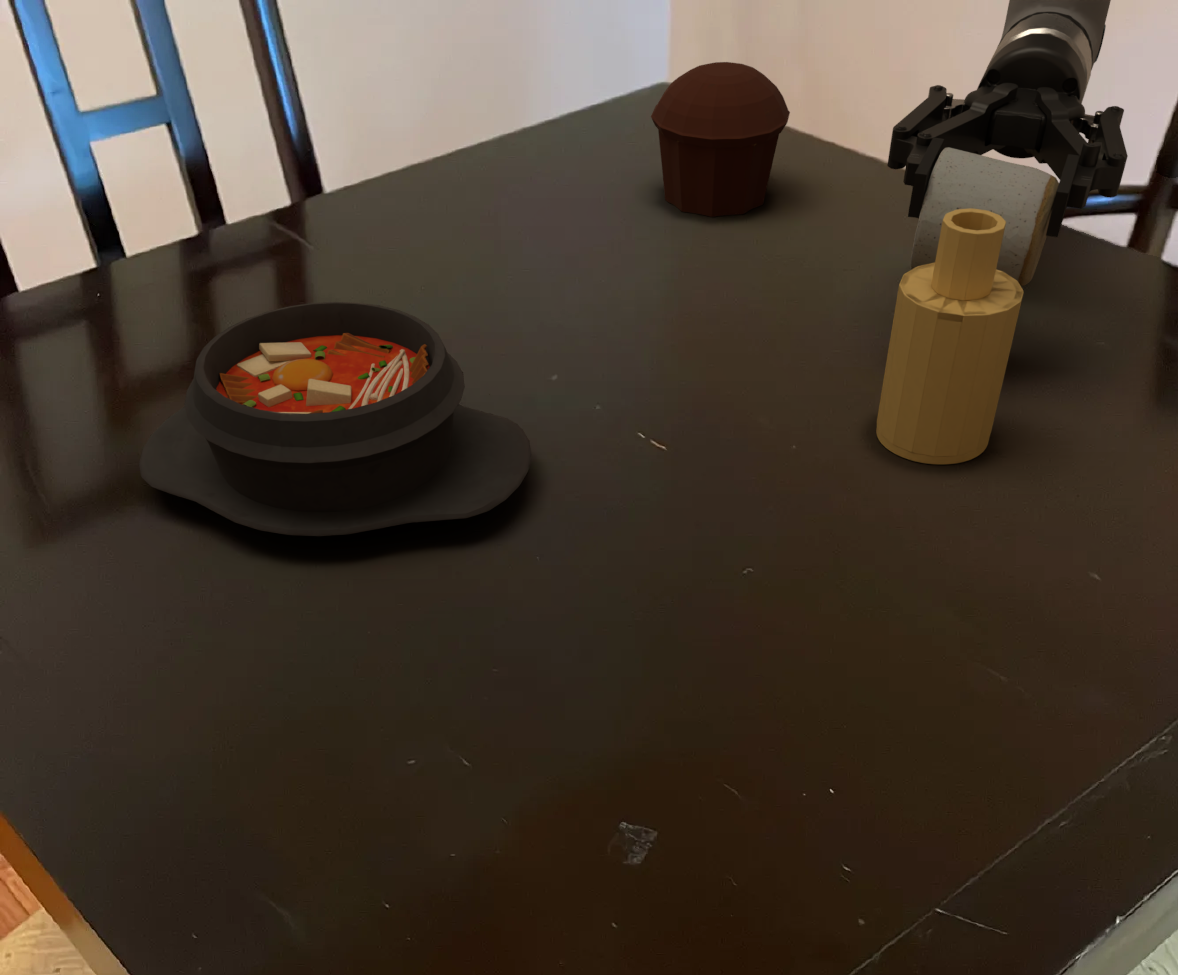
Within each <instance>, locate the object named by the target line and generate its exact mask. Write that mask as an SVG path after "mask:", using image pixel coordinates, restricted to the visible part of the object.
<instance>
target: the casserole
mask: <svg viewBox="0 0 1178 975" xmlns="http://www.w3.org/2000/svg"><path fill="white" fill-rule="evenodd" d="M464 375H465V374H464V372H463V370H462V369H461V367H460V364H459V363H458V361H457V360H456V359H455V358H454V357H453V356H452V355H451V354H450V353H449V352H448V350H447V348H446V346H445V344H444V342H443V340H442V338H441V336H440V334H439V333H438V332H437V331H436V330H435V329H434V328H433V327H432V326H431V325H430V324H429V323H427V322H425V321H424V320H422V319H421V318H419V317H417V316H415V315H413V314H410V313H407V312H404V311H402V310H399V309H396V308H392V307H388V306H383V305H379V304H373V303H364V302H355V301H354V302H352V301H323V302H310V303H302V304H297V305H295V304H294V305H289V306H285V307H280V308H277V309H272V310H269V311H268V310H267V311H265V312H262V313H259V314H256V315H253V316H250V317H248V318H244V319H242V320H241V321H239V322H237V323H234V324H232V325H231V326H229V327H227V328H225V329H224V330H222V331H221V332H219V333H218V334H217V335H215V336H214V337H213V338H212V339H211V340H210V341H208V343H207V344H205V346H204V347H203V348H202V349H201V351H200V353H199V354H198V356H197V358H196V361H195V367H194V372H193V378H192V381H191V382H190V383H189V386H188V388H187V389H186V391H185V392H186V393H185V399H184V403H183V407H181V408H180V409H178V410H177V411H176V412H174V413H173V414H172V415H170V416H168V417H167V418H166V419H165V420H164V421H163V422H162V423H161V424H160V425H159V426H158V427H157V428H156V429H155V430H154V431H153V432H152V433H151V435H150V436H149V437H148V438H147V440H146V443H145V444H144V446H143V447H142V450H141V453H140V457H139V462H138V467H139V473H140V477H141V478H142V479H143V480H144V482H146V484H148V485H149V486H150V487H151V488H154V489H156V490H159V491H162V492H164V493H167V494H170V495H173V496H177V497H180V498H183V499H186V500H189V501H192V502H196V503H197V504H199V505H201V506H203V507H205V508H207V509H208V510H210V511H212V512H214V513H216V514H218V515H220V516H221V517H223V518H225V519H226V520H230V521H231V522H233V523H236V524H239V525H242V526H245V527H248V528H251V529H255V530H257V531H262V532H269V533H273V534H274V533H275V534H280V535H286V536H301V537H302V536H303V537H328V536H343V535H345V536H346V535H352V534H357V533H364V532H369V531H374V530H380V529H384V528H388V527H395V526H399V525H405V524H410V523H423V522H436V521H450V520H463V519H469V518H471V517H475V516H478V515H482V514H485V513H487V512H489V511H491V510H493V509H494V508H495V507H497V506H499V505H500V504H501V503H503V502H505V501H506V500H507V499H508V498H510V496H511V495H512V494H513V493H514V492H515V491H516V490H517V489H519V487H520V485H521V484H522V482H523V481H524V478H526V475H527V473H528V472H529V470H530V465H531V459H532V448H531V441H530V439H529V437H528V435H527V434H526V432H525V431H524V428H522V427H521V426H520V425H519V424H518V423H516V422H514V421H513V420H511V419H509V418H508V417H504V416H501V415H497V414H494V413H490V412H485V411H481V410H478V409H474V408H471V407H466V406H464V405H462V404H460V402H461V401H462V398H463V396H464V391H465V388H466V384H465V376H464Z"/></svg>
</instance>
